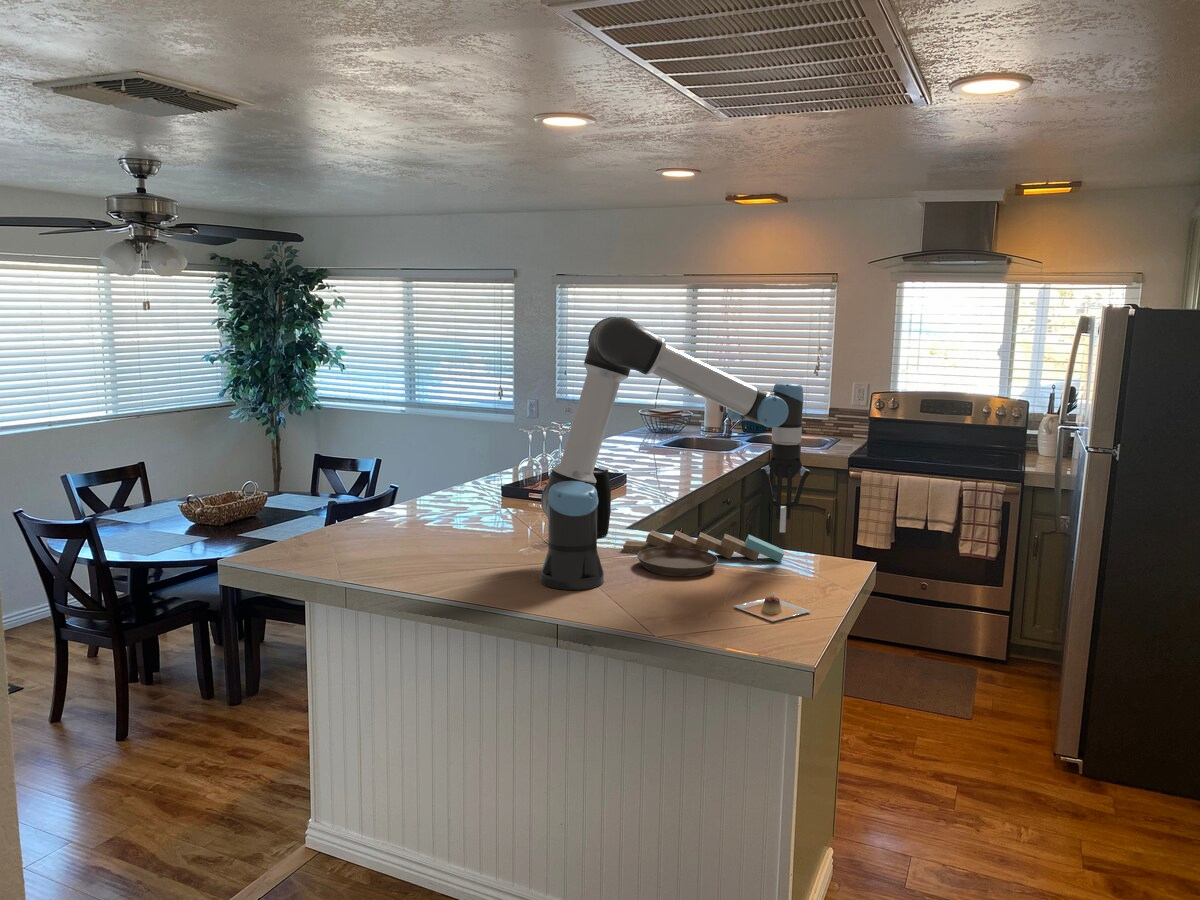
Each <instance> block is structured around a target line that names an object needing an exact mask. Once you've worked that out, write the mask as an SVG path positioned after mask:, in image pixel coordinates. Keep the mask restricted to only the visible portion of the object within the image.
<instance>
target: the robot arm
mask: <svg viewBox="0 0 1200 900" xmlns="http://www.w3.org/2000/svg"><path fill="white" fill-rule="evenodd" d="M587 344H588V347H587V351H586V354H585V358H584V362H583V366H584V367H585V369H586V375H585V379H584V382H583V386H582V389H581V393H580V396H579V399H578V403H577V406H576V410H575V413H574V416H573V420H572V423H571V426H570V429H569V433H568V436H567V440H566V443H565V446H564V450H563V453H562V456H561V460H560V463H558V464H556V465H554V466H553V467H552V469H551V472H550V475H549V479H548V482H547V483H546V485H545V486H544V488H543V490H542V492H541V496H540V497H541V498H540V501H541V508H542V511H543V513H544V515H545V516H546V518H547V521H548V523H547V524H548V529H547V530H548V532H547V533H548V537H547V539H548V540H547V541H548V543H547V544H548V546H547V547H548V549H547V553H546V556H545V559H544V561H543V565H542V568H541V570H540V582H541V584H543V585H544V586H546V587H549V588H552V589H556V590H568V591H575V590H576V591H577V590H579V591H580V590H588V589H589V590H590V589H593V588H596V587H599V586H602V585H603V584H604V580H605V578H604V577H605V576H604V575H605V574H604V573H605V571H604V569H603V566H602V562H601V559H600V557H599V553H598V538H597V506H598V497H597V490H596V488H595V485H596V479H595V477H594V475H593V471H594V468H596V467H595V466H596V463H597V460H598V457H599V453H600V451H601V447H602V443H603V440H604V437H605V433H606V431H607V428H608V425H609V424H608V423H609V420H610V416H611V414H612V410H613V407H614V404H615V401H616V397H617V395H618V391H619V387H620V384H621V383H622V381H624V380H626V379H628V378H629V375H630V372H631V370H634V371H636V372H639V373H641V374H644V375H645V376H646V375H650V374H652V375H655V376H657V377H659V378H662V379H663V380H666V381H668V382H669V383H670V382H671V383H672V384H674V385H676V386H679V387H681V388H683V389H685V390H687V391H690V392H691V393H694V394H696V395H697V396H700V397H702V398H704V399H706V400H709V401H711V402H713V403H715V404H717V405H719V406H721V407H723V408H726V410H727V415H728V417H729V419H730V420H732V421H740V422H742V421H749V422H752V423H756V424H759V425H761V426H763V427H766V428H771V441H772V444H771V449H770V451H771V453H770V460H769V462H768V465H766V466H763V467H761V468H760V473H761V476H763V478H764V484H765V489H766V493H767V498H768V503H769V505H770V506H771V505H772V506H774V507H775V519H776V520H779V533H786V528H787V527H786V525H787V520H788V521H789V520H791V513H792V508H793V507H797V506H799V502H800V499H801V495H802V492H803V489H804V487H805V483H806V479H807V478H808V477H809V476H810V474H811V471H810V470H809V469H808V468H806V467H804V466H803V464H802V461H801V452H802V451H801V450H802V445H801V442H802V434H803V433H802V430H803V424H802V423H803V422H802V421H803V409H804V407H803V406H804V388H803V386H802V385H801V384H799V383H790V382H781V383H775V384H774V386H773V389H772V390H768V391H764V390H762V389H761V388H757V386H754V385H752V384H750V383H748V382H746V381H743V380H741V379H739V378H738V377H735V376H733V375H731V374H729V373H727V372H725V371H723V370H720V369H718V368H716V367H714V366H712V365H710V364H708V363H706V362H703V361H702V360H700V359H698V358H696V357H693V356H691V355H690V354H687V353H686V352H683V351H681V350H679V349H677V348H675V347H673V346H671V345H669V344H667V343H666V342H665V339H664V338H663V337H662V336H660V335H657V334H656V333H654V332H653V331H651V330H649V329H647V328H645V327H644V326H643V325H642V324H639V323H638V322H636V321H634V319H630V318H627V317H624V316H623V317H620V316H619V317H618V316H617V317H616V316H609V317H605V318H603V319H600V321H598V322H597V323H596V324H595V325H594V326H593V327H592V329H591V330H590V333H589V335H588V342H587ZM770 470H771V471H772V473H773V474H774V475H775V477H777V482H776V484H777V485H776V499H775V498H774V491H773V489H772V488H773V487H772V483H771V479H770V472H771V471H770ZM799 471H800V472H799ZM798 473H800V474H799V475H800V479H799V482H798V486H797V488H796V492H795V495H794V499H793V500H792V494H793V493H792V491H793V490H792V489H793V488H792V486H793V478H795V476H796V475H797V474H798ZM783 479H787V480H786V482H787V483H786V500H785V501H786V503H785V504H786V505H782V491H783V490H782V488H783Z"/></svg>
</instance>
